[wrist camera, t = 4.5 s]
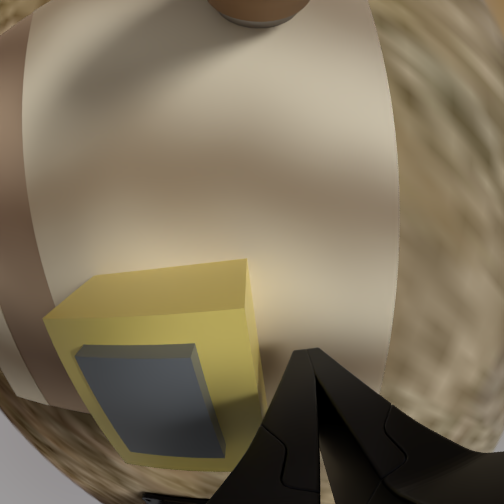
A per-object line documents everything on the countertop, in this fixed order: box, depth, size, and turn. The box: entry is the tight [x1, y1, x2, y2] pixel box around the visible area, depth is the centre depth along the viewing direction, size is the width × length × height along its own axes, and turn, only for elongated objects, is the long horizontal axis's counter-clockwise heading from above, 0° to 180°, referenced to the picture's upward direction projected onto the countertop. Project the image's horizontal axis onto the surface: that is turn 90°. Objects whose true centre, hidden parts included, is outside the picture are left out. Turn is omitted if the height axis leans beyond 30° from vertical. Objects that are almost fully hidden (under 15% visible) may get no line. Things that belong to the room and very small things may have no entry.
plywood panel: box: [0, 0, 400, 414], centre depth 8 cm, size 18×19×1 cm
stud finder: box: [42, 258, 268, 472], centre depth 7 cm, size 6×5×4 cm
